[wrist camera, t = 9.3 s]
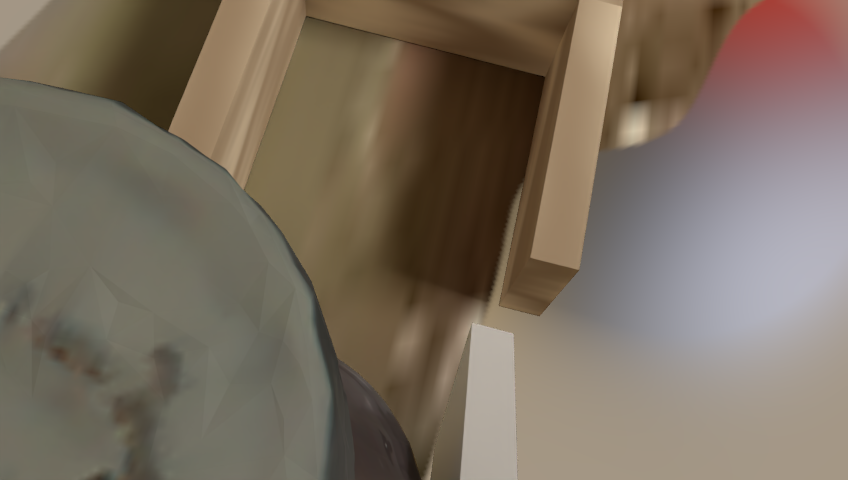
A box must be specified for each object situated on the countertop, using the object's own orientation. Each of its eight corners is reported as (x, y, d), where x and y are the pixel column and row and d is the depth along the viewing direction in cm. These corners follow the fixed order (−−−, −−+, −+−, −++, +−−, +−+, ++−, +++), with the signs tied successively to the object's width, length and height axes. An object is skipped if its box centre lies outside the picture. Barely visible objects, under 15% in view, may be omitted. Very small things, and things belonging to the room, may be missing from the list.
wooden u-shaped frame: (586, 56, 32) (627, -27, 28) (539, 316, 28) (579, 269, 23) (281, -22, 32) (270, -118, 27) (186, 227, 28) (155, 162, 23)
